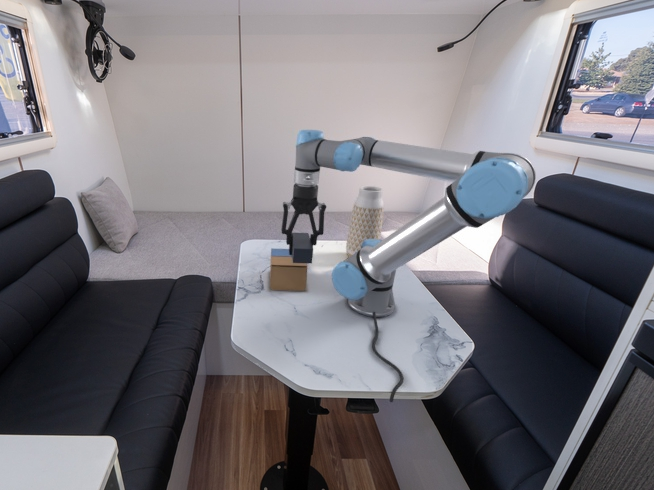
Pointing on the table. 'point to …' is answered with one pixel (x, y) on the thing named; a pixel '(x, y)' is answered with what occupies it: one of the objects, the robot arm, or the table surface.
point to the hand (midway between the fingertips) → (300, 253)
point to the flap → (280, 252)
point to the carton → (287, 274)
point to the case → (302, 248)
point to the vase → (365, 218)
